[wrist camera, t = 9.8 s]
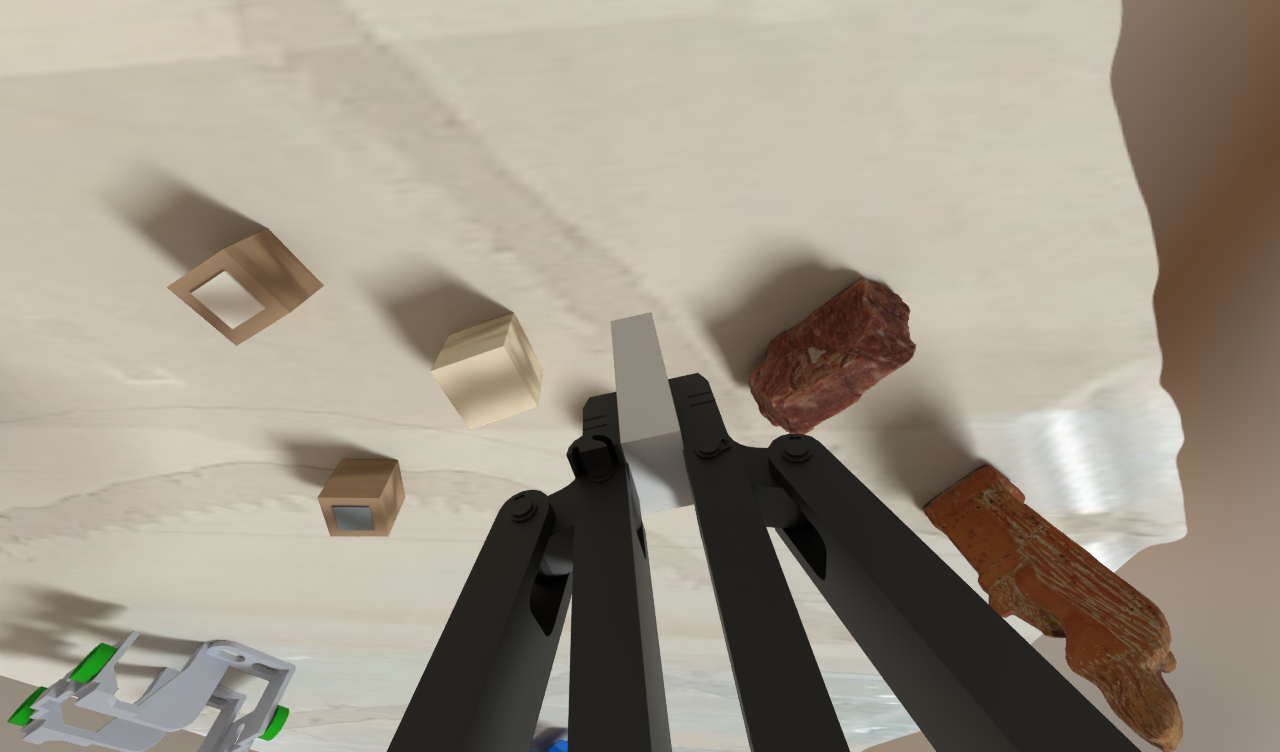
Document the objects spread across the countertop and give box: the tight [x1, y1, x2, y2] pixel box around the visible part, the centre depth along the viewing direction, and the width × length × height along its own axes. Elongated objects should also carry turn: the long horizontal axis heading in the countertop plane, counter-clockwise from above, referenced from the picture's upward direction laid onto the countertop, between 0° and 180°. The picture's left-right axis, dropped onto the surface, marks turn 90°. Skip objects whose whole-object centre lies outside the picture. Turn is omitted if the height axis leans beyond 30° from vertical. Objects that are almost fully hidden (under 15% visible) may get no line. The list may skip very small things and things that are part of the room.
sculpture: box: [924, 466, 1183, 752], centre depth 56 cm, size 13×9×30 cm
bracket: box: [8, 631, 295, 752], centre depth 68 cm, size 19×25×10 cm
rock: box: [748, 279, 916, 434], centre depth 48 cm, size 18×6×9 cm, turn 134°
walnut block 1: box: [167, 228, 324, 346], centre depth 40 cm, size 6×6×6 cm
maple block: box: [430, 313, 543, 429], centre depth 46 cm, size 7×7×7 cm
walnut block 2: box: [318, 459, 405, 536], centre depth 54 cm, size 6×6×6 cm
